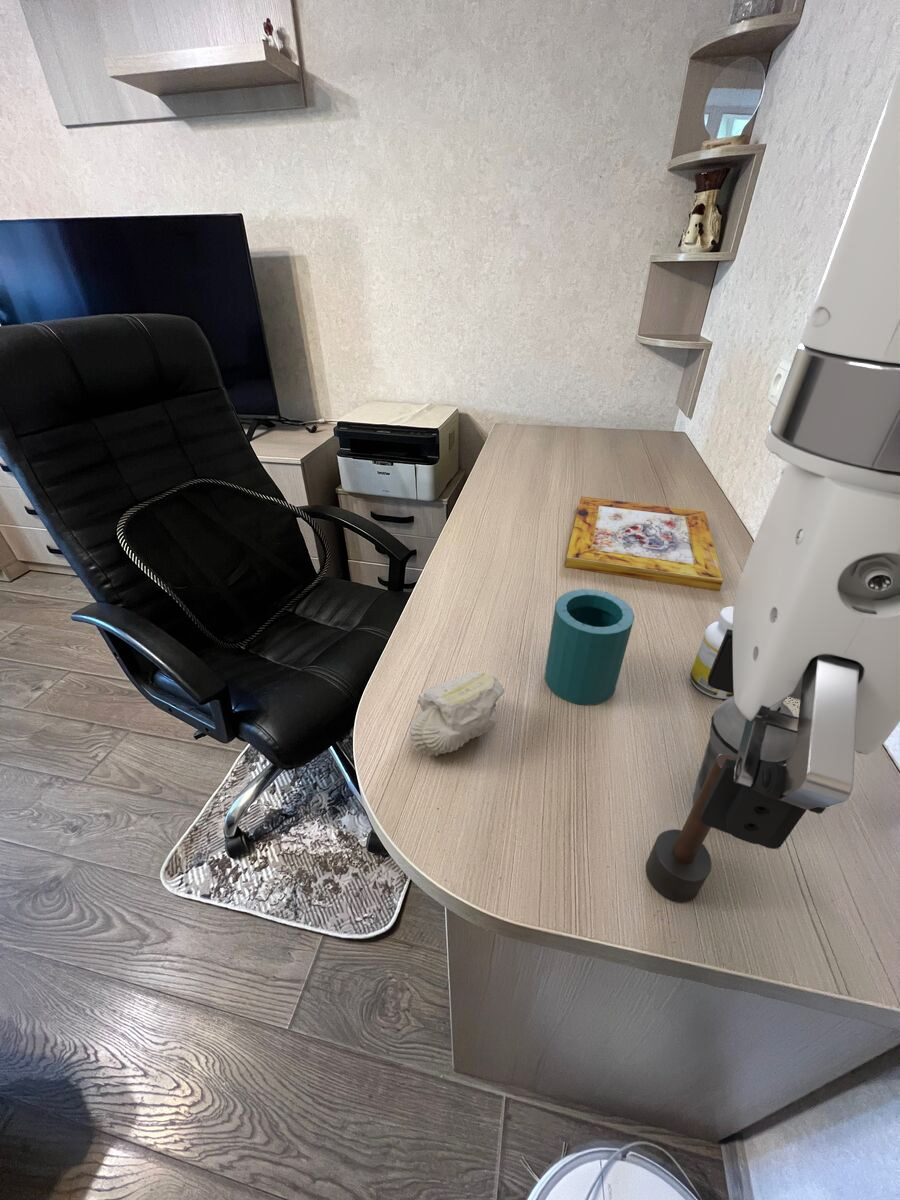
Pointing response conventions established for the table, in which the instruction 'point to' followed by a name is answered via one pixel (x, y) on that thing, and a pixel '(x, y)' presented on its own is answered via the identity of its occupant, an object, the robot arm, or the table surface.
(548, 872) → the table surface
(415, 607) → the table surface
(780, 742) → the beverage cup
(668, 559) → the picture frame
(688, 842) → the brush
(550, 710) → the table surface
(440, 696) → the fossil replica
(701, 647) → the pill bottle
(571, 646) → the jar
